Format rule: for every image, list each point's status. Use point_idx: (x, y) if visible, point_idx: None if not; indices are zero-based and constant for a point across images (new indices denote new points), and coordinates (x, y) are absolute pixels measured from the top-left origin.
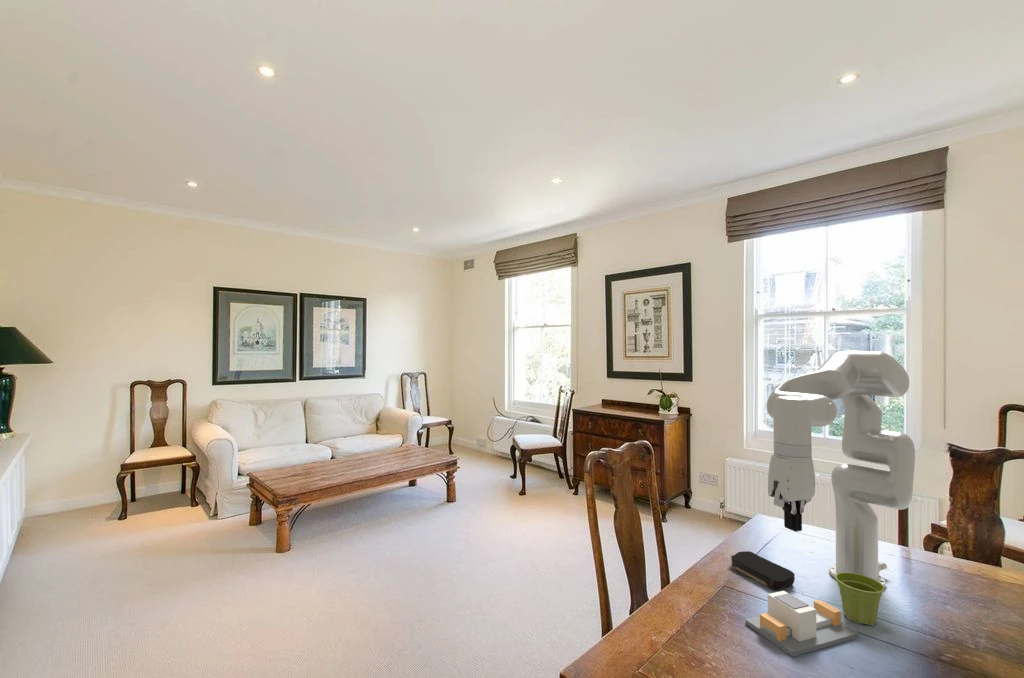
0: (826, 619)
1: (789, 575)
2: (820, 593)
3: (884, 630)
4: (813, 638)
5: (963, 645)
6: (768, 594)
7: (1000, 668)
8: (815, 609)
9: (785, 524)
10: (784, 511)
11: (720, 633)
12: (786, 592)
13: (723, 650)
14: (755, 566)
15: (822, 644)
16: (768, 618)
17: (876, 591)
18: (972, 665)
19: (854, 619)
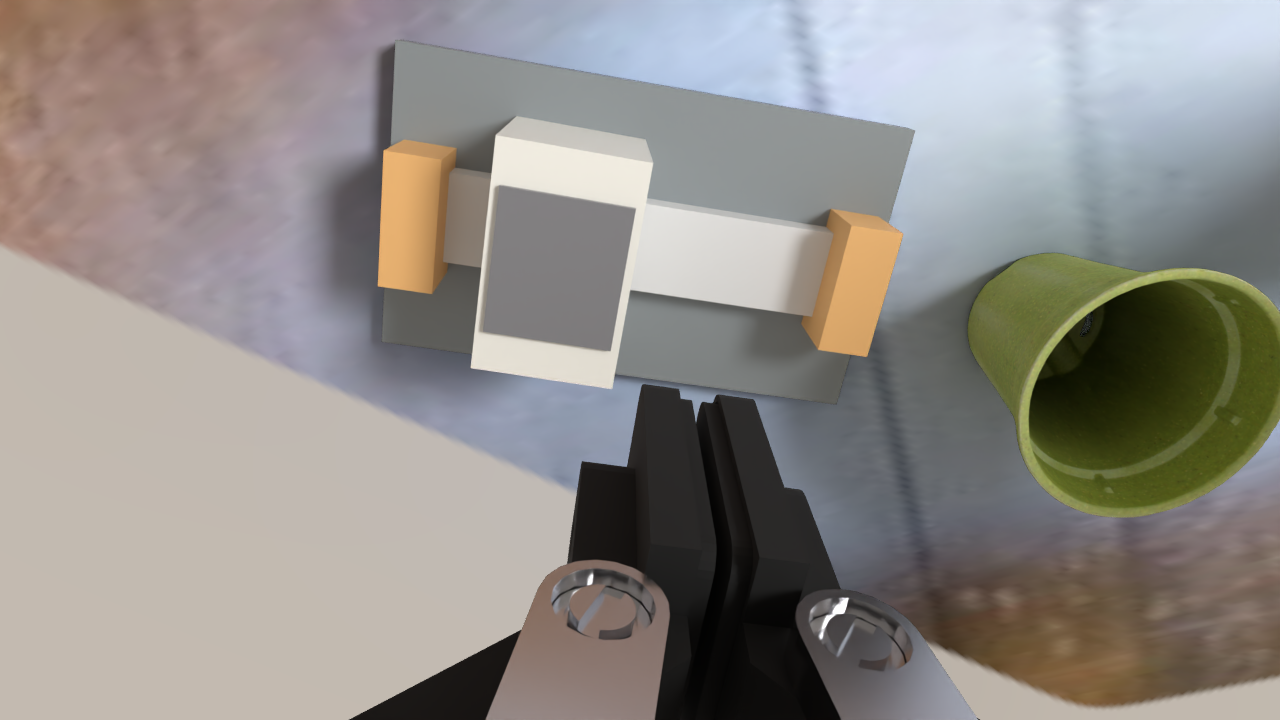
0: (779, 308)
1: None
2: (1171, 69)
3: (1003, 420)
4: None
5: (1137, 599)
6: (495, 141)
7: (1056, 693)
8: (606, 386)
9: (638, 418)
10: (651, 529)
11: (174, 29)
12: (645, 187)
13: (79, 141)
14: None
15: None
16: (395, 204)
17: (1186, 429)
18: (996, 652)
19: (971, 330)
